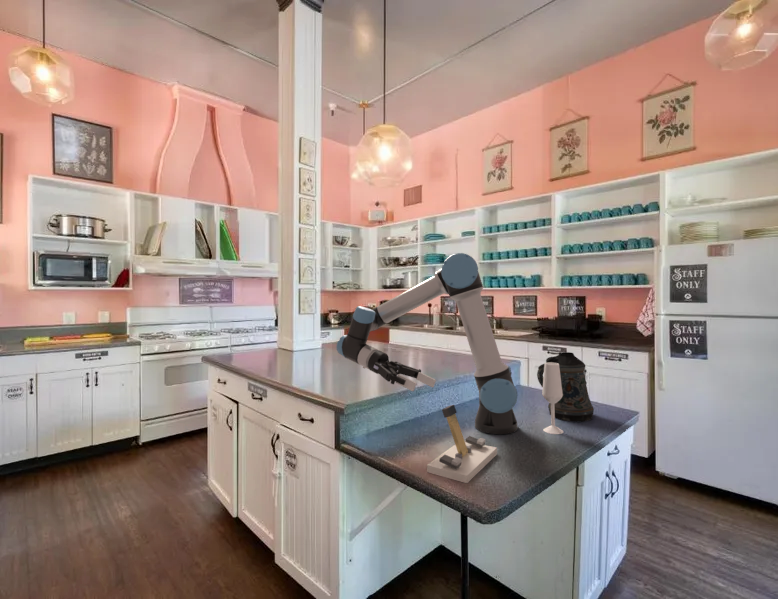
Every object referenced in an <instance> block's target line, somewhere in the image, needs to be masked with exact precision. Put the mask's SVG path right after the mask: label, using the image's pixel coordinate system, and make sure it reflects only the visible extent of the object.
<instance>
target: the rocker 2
mask: <svg viewBox="0 0 778 599" xmlns="http://www.w3.org/2000/svg"><path fill="white" fill-rule="evenodd" d="M464 441H465V442H467V443H469V444H472V445H474V446H477V447H479V448H482V447H483V446H484V445H486V438H483V437H479V438H477V437H473V436H471V435H469V436H468V437H466V438H465V440H464Z"/></svg>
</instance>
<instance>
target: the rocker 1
mask: <svg viewBox="0 0 778 599" xmlns="http://www.w3.org/2000/svg"><path fill="white" fill-rule="evenodd" d="M439 462H441V463H443V464H446V465H448V466H450V467H452V468H454V469H457V468H459V467H460V466H461V463H462V459H461V458H458V457H456V458H455V459H454V458H452V457H450V456H447V455H444V456H442V457H441V458H440V461H439Z"/></svg>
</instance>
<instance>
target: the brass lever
mask: <svg viewBox="0 0 778 599" xmlns="http://www.w3.org/2000/svg"><path fill="white" fill-rule="evenodd" d="M441 411H442V413H443V417H444V418H446V421H447V423H448V428H449V429H450V432H451V436H452V438H453V441H454V445H456V448H457V451H458V453H459V454H462V457H463V456H464V455H466V454H467V453H468V450H467V447H466V444H465V441H466V440H465V439H464V438H465V437H464V436H463V435H464V434H463V432H462V429H461V426H460V423H459V421H458V418H457V415H456V414H457V413H458V411H457V409H456V406H455V404H452V405H448V406H446V407H444V408H443V409H441Z"/></svg>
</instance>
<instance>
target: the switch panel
mask: <svg viewBox="0 0 778 599" xmlns="http://www.w3.org/2000/svg"><path fill="white" fill-rule="evenodd" d="M465 444H466V447H467V450H468V453H467V454H466V455H464V456H463V457H462V454H459V453H458V451H457V448H456V445H455V444H453V445H452V446H451V447H450V448H448V449H447V450H445V451H444V452H442V453H441V454H439V455H438V456H437V457H436V458H434V459H433V460H432V461H430V462H429V463H428V464H426V472H427V473H429V474H433V475H437V476H440V477H442V478H446V479H450V480H453V481H457V482H462V483H464V484H468V483H469V482H471V480H472V479H473V478H474V477H476V475H477V474H478V473H479V472H480V471H481V470H482V469H484V468H485V467H486V465H488V464H489V463H490V462H491V461H492V460H493V459H494V458H495V457H496V456H497V455H498V447H495V446H490V445H486V444H485V445H484V446H483V447H482V448H479V447H477V446H474V445H472V444H469V443H467V442H465ZM444 455H447V456H450V457H452V458H454V459H455V458H456V457H458V458H461V459H462V463H461V466H460V467H459V468H457V469H454V468H452V467H450V466H448V465H446V464H443V463H441V462H439V461H440V458H441V457H442V456H444Z"/></svg>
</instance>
